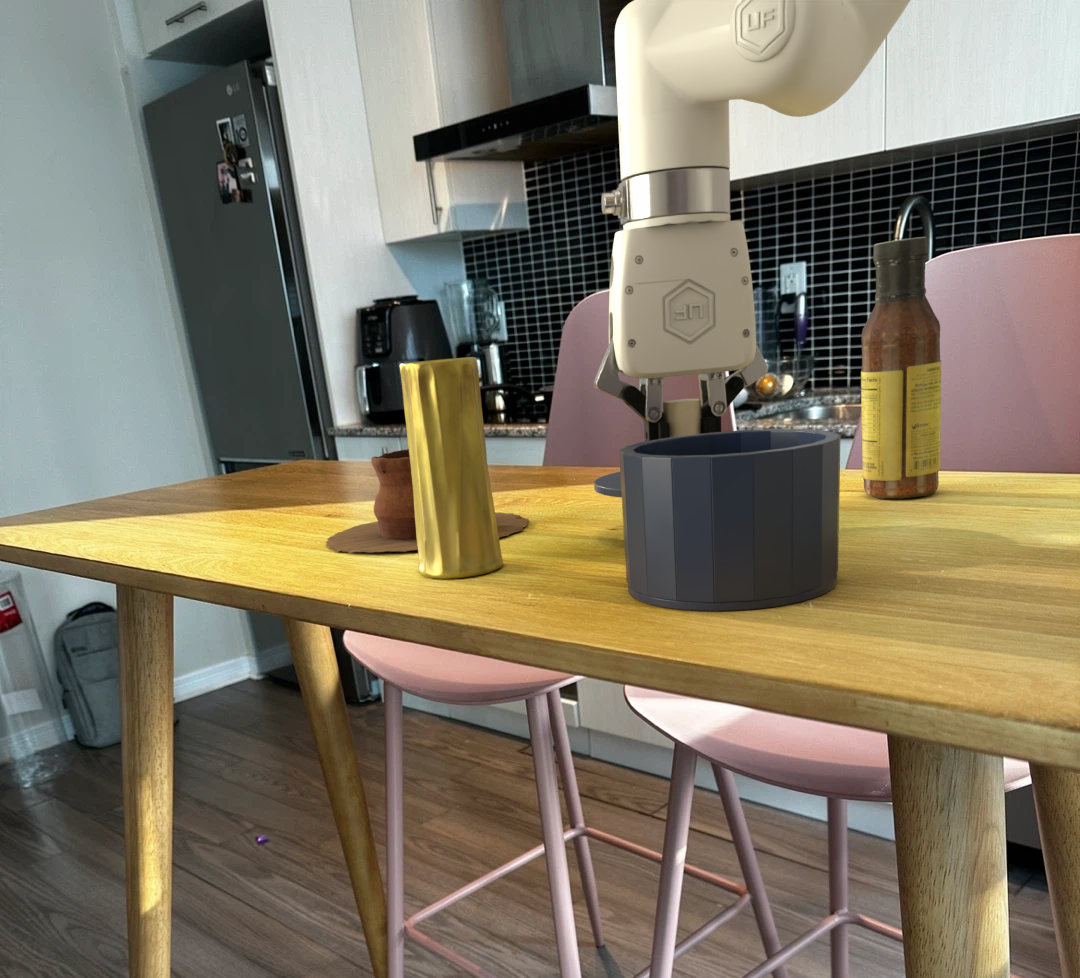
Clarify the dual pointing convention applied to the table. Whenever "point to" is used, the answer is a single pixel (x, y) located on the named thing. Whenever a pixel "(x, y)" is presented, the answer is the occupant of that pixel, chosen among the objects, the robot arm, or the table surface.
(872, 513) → the table surface
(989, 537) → the table surface
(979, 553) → the table surface
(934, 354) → the sauce bottle
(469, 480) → the vase
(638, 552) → the tin
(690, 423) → the tin lid
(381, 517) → the ceramic pot
